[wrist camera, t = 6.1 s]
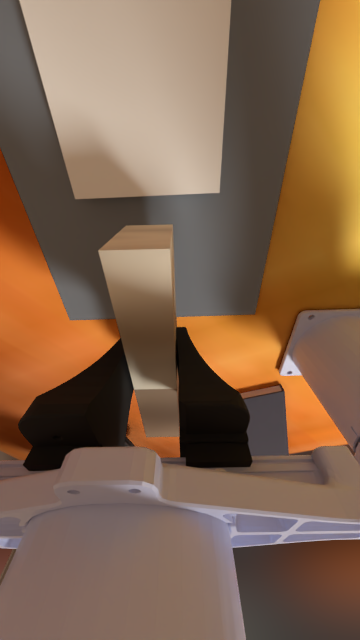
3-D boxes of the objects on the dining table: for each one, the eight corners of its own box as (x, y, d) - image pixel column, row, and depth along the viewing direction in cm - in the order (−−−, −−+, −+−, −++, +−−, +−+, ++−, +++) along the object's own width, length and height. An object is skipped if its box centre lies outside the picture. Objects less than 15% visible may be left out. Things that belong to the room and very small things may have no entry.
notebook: (285, 456, 34) (278, 379, 23) (289, 467, 33) (284, 391, 22) (214, 467, 37) (177, 401, 25) (215, 477, 35) (177, 413, 24)
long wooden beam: (178, 386, 19) (179, 436, 15) (152, 386, 19) (146, 437, 15) (172, 224, 10) (170, 248, 7) (126, 225, 10) (98, 250, 7)
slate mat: (332, -94, 8) (343, -114, 7) (252, 310, 17) (254, 314, 17) (-79, -72, 8) (-96, -90, 7) (73, 316, 18) (70, 320, 17)
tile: (219, 192, 11) (237, -99, 6) (75, 199, 11) (-5, -83, 7) (215, 192, 12) (227, -51, 8) (85, 198, 12) (25, -39, 8)
